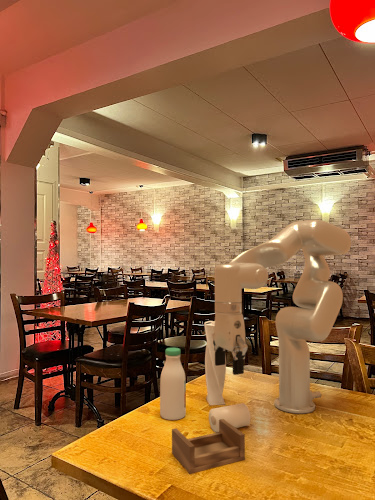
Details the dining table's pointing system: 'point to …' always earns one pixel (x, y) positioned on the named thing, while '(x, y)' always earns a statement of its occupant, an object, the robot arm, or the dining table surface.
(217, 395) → the skyscraper
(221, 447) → the cradle
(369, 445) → the dining table surface
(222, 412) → the roll
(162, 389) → the milk bottle
